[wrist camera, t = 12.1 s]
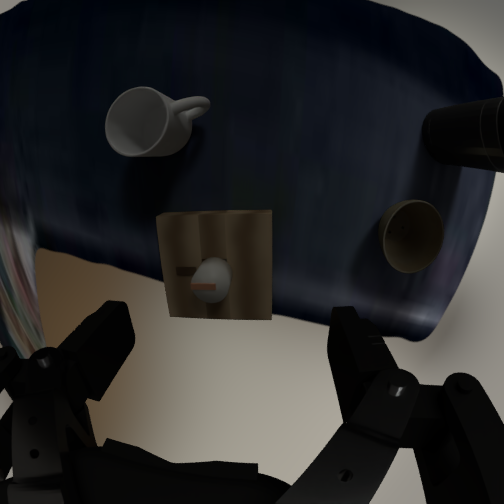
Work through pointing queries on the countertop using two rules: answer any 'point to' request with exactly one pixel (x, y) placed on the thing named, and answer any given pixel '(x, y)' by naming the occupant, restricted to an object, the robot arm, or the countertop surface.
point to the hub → (221, 246)
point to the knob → (212, 280)
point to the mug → (151, 122)
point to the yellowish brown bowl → (411, 235)
